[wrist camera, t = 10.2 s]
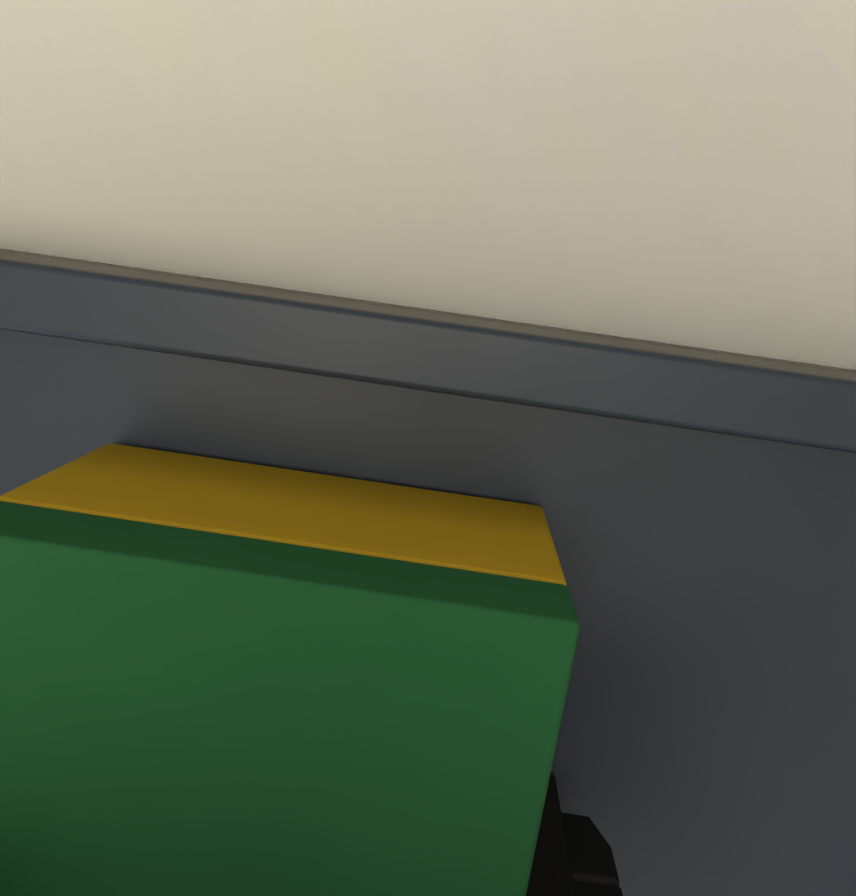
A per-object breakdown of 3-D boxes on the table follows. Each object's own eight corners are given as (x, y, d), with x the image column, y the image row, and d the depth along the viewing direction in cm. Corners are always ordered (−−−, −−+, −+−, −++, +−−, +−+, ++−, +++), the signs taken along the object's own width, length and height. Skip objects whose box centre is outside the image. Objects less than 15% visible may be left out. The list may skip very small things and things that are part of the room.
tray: (1139, 411, 10) (1301, 444, 8) (861, 1162, 13) (929, 1316, 11) (-559, 168, 11) (-793, 145, 9) (-429, 948, 14) (-578, 1060, 12)
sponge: (544, 504, 10) (581, 624, 7) (449, 1024, 12) (442, 1314, 9) (108, 441, 10) (-71, 526, 7) (89, 967, 12) (-55, 1231, 9)
